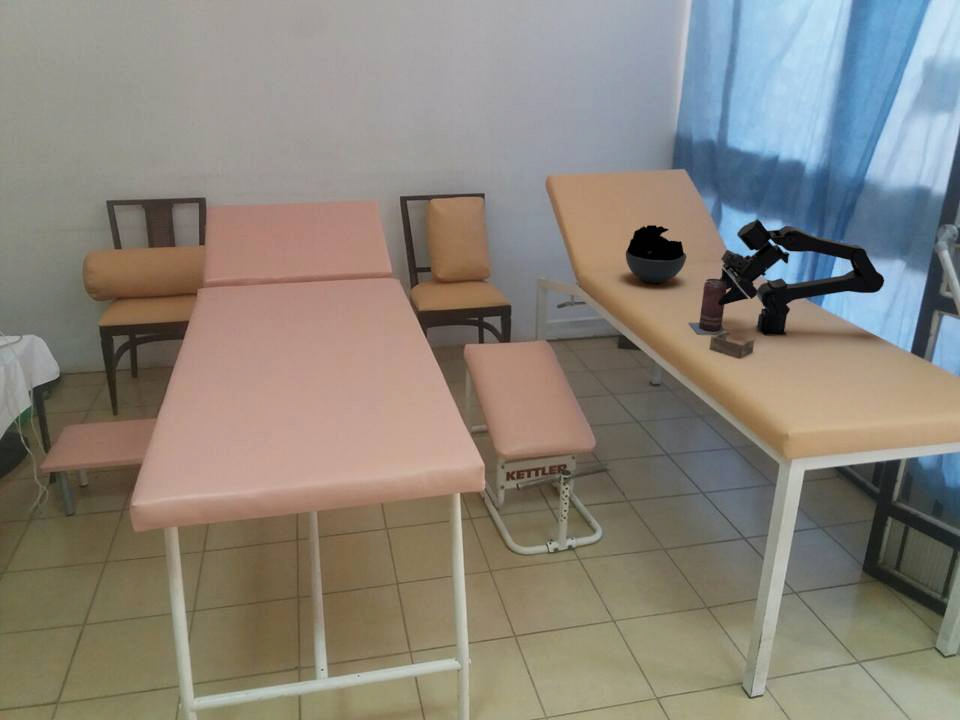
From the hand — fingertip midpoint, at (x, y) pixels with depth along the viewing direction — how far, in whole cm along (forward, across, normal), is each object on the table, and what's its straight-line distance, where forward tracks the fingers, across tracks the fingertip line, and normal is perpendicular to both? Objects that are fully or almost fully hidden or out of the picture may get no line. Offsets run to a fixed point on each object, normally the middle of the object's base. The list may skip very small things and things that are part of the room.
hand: (715, 299), depth 220 cm
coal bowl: (+14, -45, -1) cm, 47 cm away
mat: (+7, 0, +6) cm, 9 cm away
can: (+7, 0, +6) cm, 9 cm away
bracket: (+5, +16, +8) cm, 18 cm away
